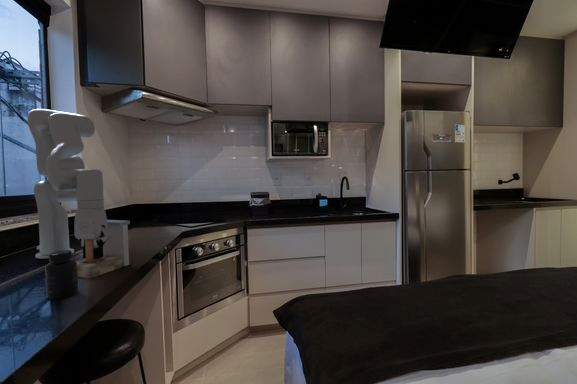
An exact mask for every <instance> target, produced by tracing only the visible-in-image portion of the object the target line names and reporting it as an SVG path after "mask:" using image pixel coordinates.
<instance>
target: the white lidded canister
mask: <svg viewBox="0 0 577 384" xmlns="http://www.w3.org/2000/svg"><path fill="white" fill-rule="evenodd" d="M130 223H131V221H130V220H120V219H119V220H118V219H107V225H108V236H109V237H110V238H109V240H107V241H106V242H105V244H104V246H103V256H112V257H122V267H126V266H129V265H130V255H129V254H130V251H129V232H128V231H129V228H128V226H129V225H130Z"/></svg>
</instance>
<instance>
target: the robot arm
mask: <svg viewBox="0 0 577 384" xmlns="http://www.w3.org/2000/svg"><path fill="white" fill-rule="evenodd" d="M27 125H28V128H29V131H30V133H31V136H32V137H33V140H34V143H35V156H36V159H35V160H36V167H37V171H38V173H39V175H40V176H42V177H47V179H46V180H41V181H38V182H36V183H35V184H34V187H33V194H34V198H35V202H36V206H37V216H38V232H39V234H38V235H39V245H37V246H36V250H39V252H38V253H36V254H34V255H35V258H36V259H49V254H50V253H52V252H56V251H62V250H71V253H72V254H74V252H75V249H74V248H71V247H70V235H69V234H70V232H69V231H70V230H69V218H68V217H69V215H68V211H67V210H66V209H65V207H63V205H61V203H70V202H71V203H73V202H76V205H77V206H76V207H77V208H76V210H75V215H74V223H73V224H74V237H75V238H76V239H77V240H78V241H79V242H80V246H81V247H82V259H85V258H86V249H85V239H92V240H93V241H94V246H95V248H93V257H94V259H99V258H102V257H103V246H104V244H105V242H106V241H107V240H109V238H110V237H109V236H108V225H107V220H108V218H107V212H106V210H105V200H104V199H105V198H104V179H103V177H104V175H103V172H102V170H101V169H97V168H95V169H93V168H86V166H85V162H84V160H83V158H82V157H81V156H78V155H79V154H81V153H82V152H83V151H84V148H85V144H84V142H83V140H82V138H92V137H93V136H94V135H95V131H96V128H95V123H94V121H93V120H92V119H91V117H89V116H88V115H83V114H78V113H72V112H65V111H59V110H55V109H52V110H51V109H46V108H36V109H35V108H34V109H31V110H30V111H28V115H27ZM98 237H99V238H98ZM98 240H99V242H98Z"/></svg>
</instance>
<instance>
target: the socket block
mask: <svg viewBox="0 0 577 384" xmlns="http://www.w3.org/2000/svg"><path fill="white" fill-rule="evenodd" d="M75 261H76V263H77V273H78V278H84V279H86V278H87V279H93V278H96V277H98V276H100V275H101V276H102V275H104V274H106V273H109V272H112V271H115V270H118V269H121V268H123V266H122V257H112V256H103V257H102V258H100V261H99V262H96V263H93V264H89V263H86V258H82V259H78V260H75Z"/></svg>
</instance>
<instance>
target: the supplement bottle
mask: <svg viewBox="0 0 577 384" xmlns="http://www.w3.org/2000/svg"><path fill="white" fill-rule="evenodd" d="M48 261H49V263H48V264H46V265H45V267H44V271H45V274H44V275H45V285H46V296H47V299H49V300H51V301H52V300H53V301H54V300H55V301H56V300H62V299H67V298H70V297H73V296H75V295H76V294H77V293H78V292H79V290H80V289H79V277H78V273H77V263H76V261H77V260H75V259H73V253H71V250H62V251H56V252H52V253H50V254H49V258H48Z"/></svg>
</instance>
